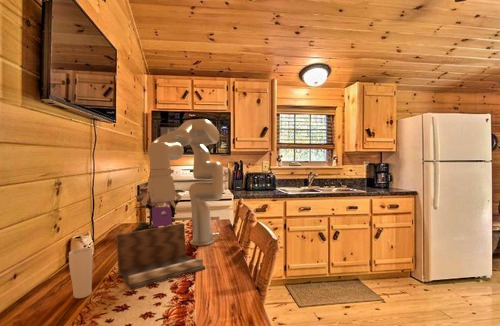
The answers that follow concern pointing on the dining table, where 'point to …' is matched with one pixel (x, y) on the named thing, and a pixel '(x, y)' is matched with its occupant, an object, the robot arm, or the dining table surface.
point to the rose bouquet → (144, 224)
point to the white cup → (81, 271)
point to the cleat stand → (154, 255)
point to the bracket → (161, 216)
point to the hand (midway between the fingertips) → (163, 218)
